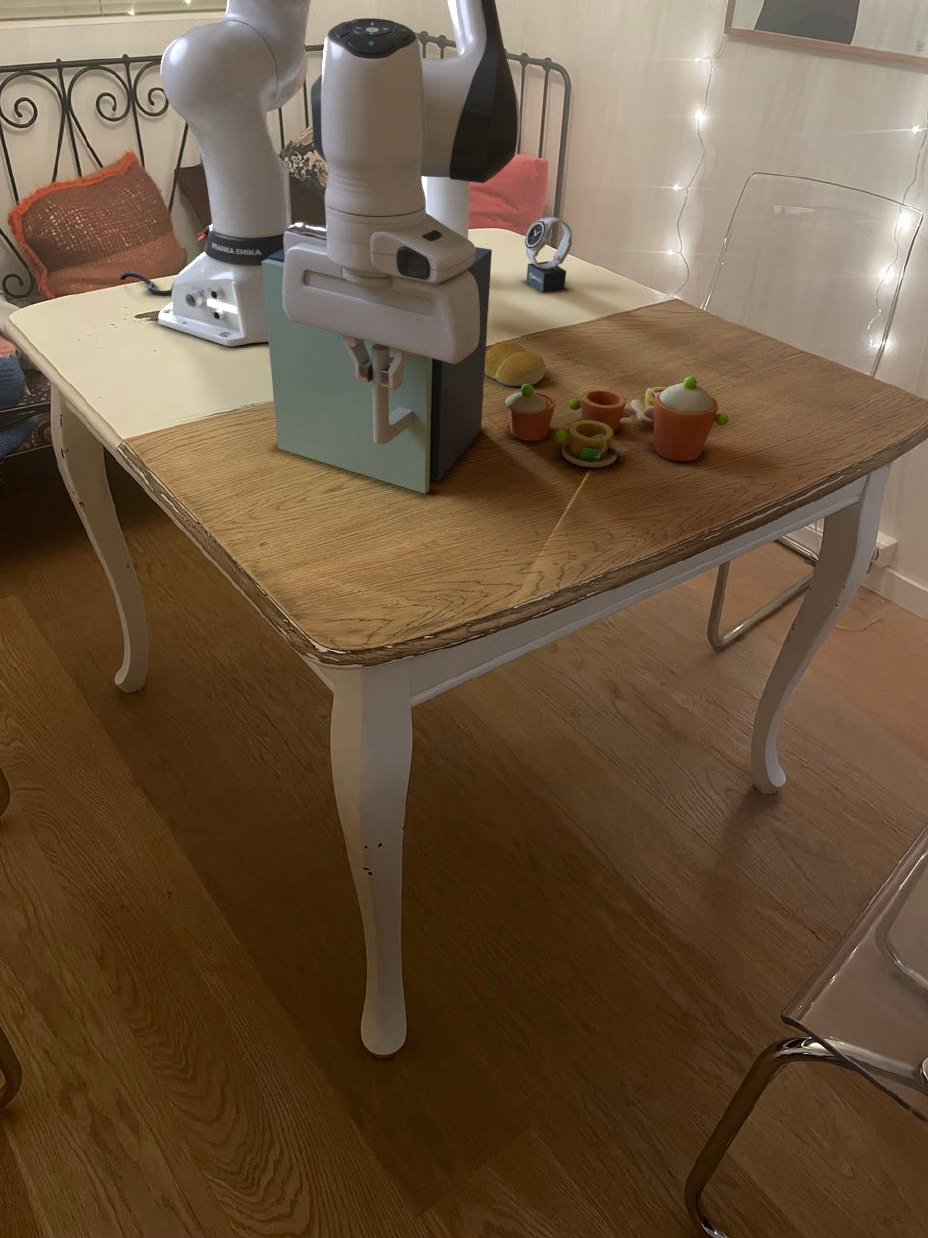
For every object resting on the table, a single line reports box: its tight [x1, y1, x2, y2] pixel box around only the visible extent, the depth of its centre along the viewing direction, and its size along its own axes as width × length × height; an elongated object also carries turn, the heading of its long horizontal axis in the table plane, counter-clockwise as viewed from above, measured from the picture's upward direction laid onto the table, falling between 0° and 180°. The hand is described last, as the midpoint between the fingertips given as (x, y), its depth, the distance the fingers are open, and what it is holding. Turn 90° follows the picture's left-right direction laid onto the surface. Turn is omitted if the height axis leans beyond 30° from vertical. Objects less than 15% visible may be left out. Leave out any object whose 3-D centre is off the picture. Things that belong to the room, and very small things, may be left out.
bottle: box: [422, 177, 472, 240], centre depth 151 cm, size 8×8×30 cm
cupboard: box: [268, 246, 493, 481], centre depth 108 cm, size 14×20×22 cm
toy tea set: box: [504, 376, 730, 468], centre depth 113 cm, size 26×16×10 cm, turn 104°
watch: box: [524, 216, 573, 293], centre depth 158 cm, size 6×8×11 cm
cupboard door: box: [262, 259, 432, 495], centre depth 99 cm, size 7×20×22 cm, turn 62°
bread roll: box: [484, 341, 546, 387], centre depth 130 cm, size 8×9×4 cm
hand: (379, 382), depth 92 cm, fingers closed on cupboard door, 2 cm apart
